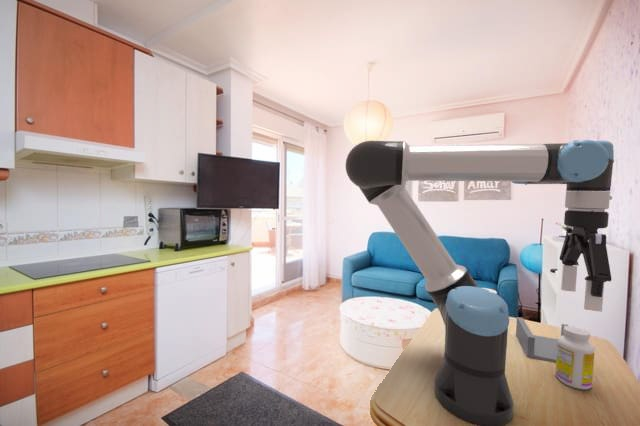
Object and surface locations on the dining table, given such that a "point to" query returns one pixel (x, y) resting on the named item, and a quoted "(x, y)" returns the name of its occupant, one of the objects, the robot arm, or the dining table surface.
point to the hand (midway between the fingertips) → (579, 299)
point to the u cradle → (537, 342)
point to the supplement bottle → (575, 358)
